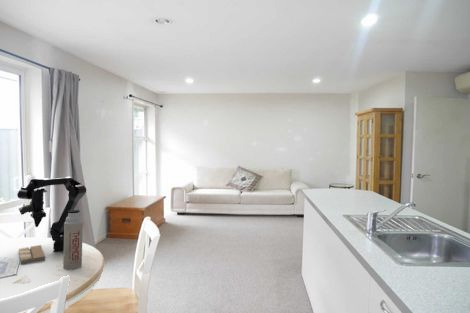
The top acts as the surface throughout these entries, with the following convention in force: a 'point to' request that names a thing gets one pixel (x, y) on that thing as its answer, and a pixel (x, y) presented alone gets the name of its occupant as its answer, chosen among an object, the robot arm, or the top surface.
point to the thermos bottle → (73, 241)
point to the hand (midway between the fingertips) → (36, 226)
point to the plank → (25, 254)
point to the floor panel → (35, 254)
